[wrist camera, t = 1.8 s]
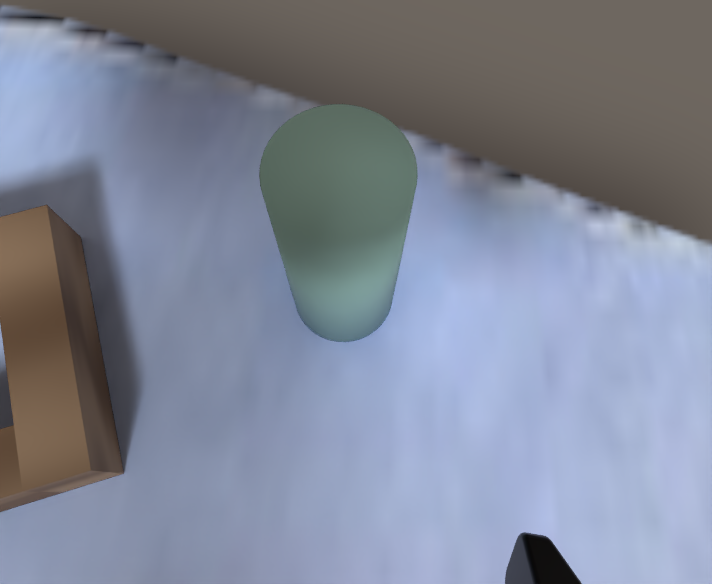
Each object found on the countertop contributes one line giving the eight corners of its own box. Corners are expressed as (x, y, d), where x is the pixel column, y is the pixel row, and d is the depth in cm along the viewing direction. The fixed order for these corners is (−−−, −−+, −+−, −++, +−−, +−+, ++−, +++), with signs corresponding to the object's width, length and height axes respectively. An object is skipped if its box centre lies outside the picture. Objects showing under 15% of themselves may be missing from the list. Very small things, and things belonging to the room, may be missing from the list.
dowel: (411, 306, 25) (448, 190, 15) (329, 361, 24) (315, 274, 14) (356, 232, 26) (358, 79, 16) (276, 282, 25) (230, 152, 16)
